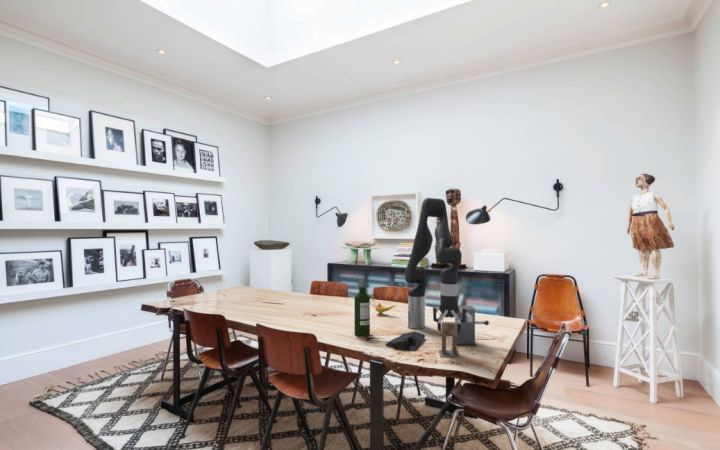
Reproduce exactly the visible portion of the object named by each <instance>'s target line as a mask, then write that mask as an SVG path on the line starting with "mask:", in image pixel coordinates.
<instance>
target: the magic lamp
mask: <svg viewBox="0 0 720 450" xmlns="http://www.w3.org/2000/svg"><path fill="white" fill-rule="evenodd" d="M374 298H375V297H374V296H372V295H371V299H372V300H370V305H372V306H373V307H374V311H376V312H377V314H376V315H377V316H380V317H382V316H385V315H386V314H385V312H388V311H390V310H391V309H393V308H394V307H396V305H392V306H388V307H387V306H382V304H381V303H380V302H378V304H375V302H374ZM372 302H373V304H372Z"/></svg>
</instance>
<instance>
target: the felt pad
mask: <svg viewBox="0 0 720 450" xmlns="http://www.w3.org/2000/svg"><path fill="white" fill-rule="evenodd" d="M438 352H439V355H440V358H452V359H453V358H454V359H456V358H457V359H461V356H460V353H459V351H458V350H457V355H453V353H452V349H451V350H450V349H446V355H443V354H442V349H439V350H438Z"/></svg>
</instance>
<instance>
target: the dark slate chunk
mask: <svg viewBox="0 0 720 450" xmlns="http://www.w3.org/2000/svg"><path fill="white" fill-rule="evenodd" d="M425 337H426V335H425V334H424V333H421V332H417V331H410V332H405V333H402V334H401V335H399V336H396V337H394V338H392V339H391V340H389V341H388V342H387V343H385V345H384V346H386V348H391V349H395V350H399V351H409V352H411V351H412V352H415V351H417V349H418V348H419V347H420V345H421V344H422V342H423V341H424V338H425Z"/></svg>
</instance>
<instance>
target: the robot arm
mask: <svg viewBox="0 0 720 450" xmlns="http://www.w3.org/2000/svg"><path fill="white" fill-rule="evenodd" d="M446 205H447V204H446V202H445V200H443V198H442V199H441V198H435V197H425V198H424V199H423V201H422V203H421V208H420V214H419V219H418V225H417V228H416V229H417V230H416V233H415V237H414V241H413V244H412V248H411V254H410V257H409V260H408V263H407V266H406V269H405V272H404V281H405V282H406V283H407V284H415V286H414V287H412V288H410V289H408V291H407V328H409V329H416V330H417V329H418V330H419V329H424V328H425V327H426V306H425V305H426V290H427V289H426V288H427V271H426V268H425V267H424V266H423V265H422V266H420V265H419V263H420V262H421V261H423V259H424V258H425V257H426V256H427V255H428V254H429V253H430V252H431V249H432V246H433V245H432V244H433V241H434V239H433V234H432V232H431V230H430V228H429V225H428V219H429V217H430V218H439V221H438V223H437V225H436V226H435V228H434V238H435V241H436V246H437V251H436V260H437V262H438V263H439V264H441V265H450V266H449V268H445V269H442V270H441V272H440V289H439V293H440V294H439V295H440V298H439V299H440V303H439V306H437V307H436V306H433V307H432V315H433V316H432V317H433V318H432V319H433V322H434V323H435V322H436V324H437V331H439V333H442V322H443V320H444V318H454V320H455V319H456V320H457V322H458V323H457V332H459V331H461V323H463V322H464V323H465V319H466V309H465V308H459V307H458V305H459V287H458V285H459V284H458V275H459V274H458V273H459V269H460V265H461V262H462V258H463V257H462V254H463V253H462V252H461V249H459V248H458V247H452V246H453V245H454V242H453V238H452V234H451V231H450V227H449V219H448V211H447V206H446ZM439 311H440V315H439V317H438V318H437V313H438V312H439ZM458 311H460V312H461V313H462V319H459V318H458V316H457V315H456V314H457V313H458Z"/></svg>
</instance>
